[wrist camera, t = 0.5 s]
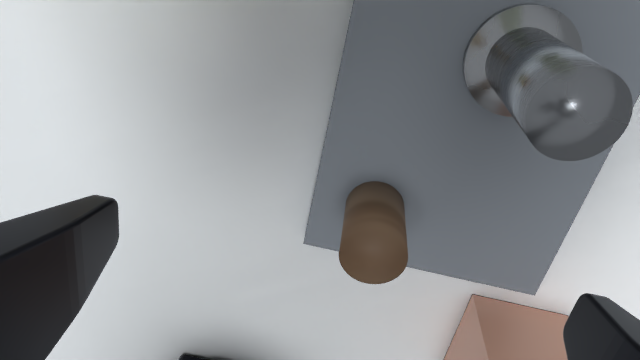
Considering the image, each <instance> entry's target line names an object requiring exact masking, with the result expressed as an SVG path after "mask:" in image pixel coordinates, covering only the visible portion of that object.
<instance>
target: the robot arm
mask: <svg viewBox="0 0 640 360" xmlns="http://www.w3.org/2000/svg"><path fill="white" fill-rule="evenodd" d="M118 239H119V219H118V204H117V201H116V200H115V199H113V198H109V197H104V196H99V195H92V196H88V197H85V198H82V199H78V200H75V201H72V202H68V203H65V204H62V205H58V206H55V207H51V208H48V209H45V210H41V211H38V212H35V213H31V214H28V215H25V216H21V217H18V218H15V219H11V220H8V221H4V222H1V223H0V360H45V359H46V358H47V356H48V355H49V353H50V352H51V351H52V349H53V348H54V346H55V345H56V344H57V342H58V341H59V339H60V338H61V337H62V335H63V334H64V332H65V331H66V330H67V328H68V327H69V326H70V324H71V323H72V321H73V320H74V318H75V317H76V315H77V314H78V313H79V311H80V309H81V308H82V306H83V304H84V303H85V301H86V299H87V298H88V296H89V294H90V292H91V291H92V289H93V287H94V285H95V283H96V282H97V280H98V278H99V276H100V274H101V273H102V271H103V269H104V267H105V265H106V264H107V262H108V260H109V258H110V256H111V255H112V253H113V251H114V249H115V247H116V245H117V243H118ZM563 339H564V344H565V349H566V354H567V359H568V360H640V320H639V319H637V318H636V317H634V316H633V315H631V314H630V313H629V312H627V311H626V310H624V309H623V308H622V307H620V306H619V305H617V304H616V303H615V302H613V301H612V300H610V299H609V298H607V297H604V296H599V295H594V294H588V293H586V294H583V295H581V296H580V297H579V299H578V300H577V302H576V304H575V306H574V308H573V310H572V312H571V314H570V316H569V317H568V319H567V321H566V323H565V326H564V329H563ZM179 360H205V359H201V358H197V357H192V356H188V355H182V356H181V357H180V358H179Z"/></svg>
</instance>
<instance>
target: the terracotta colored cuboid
mask: <svg viewBox="0 0 640 360" xmlns="http://www.w3.org/2000/svg"><path fill="white" fill-rule="evenodd" d="M567 319H568V316H567V315H562V314H558V313H554V312H549V311H545V310H540V309H536V308H531V307H527V306H522V305H518V304H513V303H509V302H505V301H500V300H496V299H491V298H487V297H482V296H478V295H473V294H472V297H471V299H470V301H469V303H468V306H467V308H466V310H465V312H464V315H463V317H462V319H461V321H460V324H459V326H458V328H457V331H456V333H455V335H454V337H453V340H452V342H451V344H450V346H449V349H448V351H447V353H446V356H445V358H444V360H568V359H567V354H566V349H565V344H564V339H563V329H564V326H565V323H566V321H567Z"/></svg>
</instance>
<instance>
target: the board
mask: <svg viewBox="0 0 640 360" xmlns="http://www.w3.org/2000/svg"><path fill="white" fill-rule="evenodd" d="M518 4H541V5H545V6H548V7H551V8H553V9H555V10H557V11H559V12H561V13H562V14H564V15H565V16H566V17H567V18H568V19H570V20H571V22H572V23H573V24H574V26H575V27H576V29H577V31H578V33H579V35H580V38H581V43H582V53H583V54H584V55H586V56H587V57H589V58H591V59H592V60H594V61H596V62H597V63H599V64H601V65H602V66H604V67H606V68H607V69H609V70H611V71H612V72H614V73H615V74H617V75H619V76H620V77H621V78H622V79H623V80H624V81H625V83H626V84H627V86H628V88H629V89H630V92H631V95H632V101H633V106H634V104H635V102H636V100H637V98H638V97H639V95H640V0H354V3H353V7H352V12H351V17H350V22H349V27H348V31H347V36H346V41H345V46H344V51H343V56H342V60H341V65H340V70H339V75H338V80H337V84H336V89H335V94H334V99H333V104H332V109H331V113H330V118H329V123H328V128H327V133H326V137H325V142H324V147H323V152H322V157H321V162H320V166H319V171H318V176H317V181H316V186H315V190H314V195H313V200H312V205H311V210H310V215H309V219H308V224H307V229H306V234H305V239H304V243H303V244H307V245H312V246H316V247H321V248H325V249H330V250H334V251H339V249H340V242H341V235H342V228H343V220H344V213H345V206H346V200H347V197H348V195H349V194H350V192H351V191H352V190H353V189H354V188H355V187H357V186H358V185H360V184H362V183H365V182H370V181H379V182H384V183H387V184H389V185H391V186H393V187H394V188H395V189H396V190H397V191H398V192H399V193H400V194H401V196H402V198H403V201H404V209H405V222H406V234H407V247H408V262H407V265H406V267H410V268H415V269H419V270H424V271H428V272H432V273H437V274H441V275H446V276H450V277H455V278H459V279H464V280H468V281H473V282H477V283H482V284H486V285H491V286H495V287H499V288H504V289H508V290H513V291H517V292H522V293H526V294H531V295H535V294H536V292H537V290H538V288H539V286H540V284H541V282H542V280H543V278H544V277H545V275H546V273H547V271H548V269H549V267H550V265H551V263H552V261H553V259H554V257H555V256H556V254H557V252H558V250H559V248H560V246H561V244H562V242H563V240H564V238H565V236H566V234H567V233H568V231H569V229H570V227H571V225H572V223H573V221H574V219H575V217H576V215H577V213H578V211H579V210H580V208H581V206H582V204H583V202H584V200H585V198H586V196H587V194H588V192H589V190H590V188H591V187H592V185H593V183H594V181H595V179H596V177H597V175H598V173H599V171H600V169H601V167H602V165H603V164H604V162H605V160H606V158H607V156H608V154H609V152H610V150H611V148H612V146H613V145H611V146H610V147H609V148H608V149H606V150H605V151H603V152H601V153H599V154H597V155H595V156H593V157H590V158H587V159H584V160H578V161H560V160H555V159H552V158H549V157H547V156H545V155H543V154H542V153H540V152H539V151H538V150H537V149H536V148H535V147H534V146H533V145H532V144H531V142H530V141H529V139H528V138H527V136H526V135H525V134H524V132H523V131H522V129H521V128H520V127H519V125H518V124H517V122H516V121H515V120H514V118H513V117H507V116H501V115H498V114H494V113H492V112H490V111H488V110H486V109H485V108H483V107H482V106H481V105H480V104H478V102H477V101H476V100H475V99H474V98H473V96H472V95H471V93H470V92H469V90H468V88H467V85H466V83H465V79H464V74H463V60H464V55H465V51H466V48H467V45H468V43H469V41H470V39H471V37H472V36H473V34H474V33H475V31H476V30H477V29H478V28H479V27H480V26H481V24H482V23H484V22H485V21H486V20H487V19H488V18H489V17H491V16H492V15H494V14H495V13H497V12H499V11H501V10H503V9H505V8H508V7H511V6H514V5H518Z"/></svg>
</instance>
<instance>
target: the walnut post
mask: <svg viewBox="0 0 640 360" xmlns="http://www.w3.org/2000/svg"><path fill="white" fill-rule="evenodd" d="M339 260H340V263H341V265H342V267H343V269H344V270H345V271H346V273H347V274H348V275H350V276H351V277H352V278H354V279H356V280H358V281H360V282H364V283H368V284H381V283H386V282H389V281H391V280H393V279H395V278H397V277H398V276H399V275H400V274H401V273H402V272H403V271H404V269H405V268H406V265H407V262H408V247H407V234H406V222H405V209H404V201H403V198H402V196H401V194H400V193H399V192H398V191H397V190H396V189H395V188H394V187H393V186H391V185H389V184H387V183H384V182H379V181H370V182H365V183H362V184H360V185H358V186H357V187H355V188H354V189H353V190H352V191H351V192H350V194H349V195H348V197H347V200H346V206H345V213H344V220H343V228H342V235H341V242H340V249H339Z"/></svg>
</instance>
